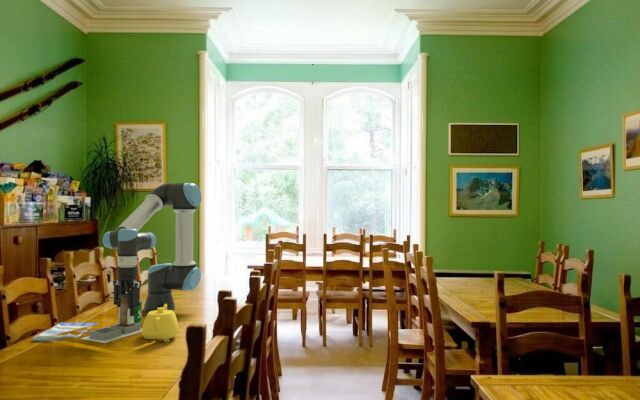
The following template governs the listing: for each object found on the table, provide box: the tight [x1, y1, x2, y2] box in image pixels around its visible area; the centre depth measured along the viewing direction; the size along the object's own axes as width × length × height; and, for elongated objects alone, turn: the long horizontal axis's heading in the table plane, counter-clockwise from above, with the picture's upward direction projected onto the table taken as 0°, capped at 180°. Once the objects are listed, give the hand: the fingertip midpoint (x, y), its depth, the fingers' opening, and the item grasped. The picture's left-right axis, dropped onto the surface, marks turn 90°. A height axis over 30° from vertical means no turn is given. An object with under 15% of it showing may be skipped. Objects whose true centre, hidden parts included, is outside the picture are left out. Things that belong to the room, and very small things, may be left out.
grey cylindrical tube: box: [120, 292, 132, 327], centre depth 186 cm, size 5×5×15 cm
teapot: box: [141, 304, 179, 344], centre depth 180 cm, size 13×20×12 cm
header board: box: [79, 323, 142, 344], centre depth 182 cm, size 22×13×4 cm, turn 156°
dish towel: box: [31, 321, 100, 342], centre depth 186 cm, size 17×24×3 cm
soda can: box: [132, 298, 143, 324], centre depth 200 cm, size 8×8×12 cm
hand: (125, 323), depth 186 cm, fingers closed on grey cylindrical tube, 4 cm apart
